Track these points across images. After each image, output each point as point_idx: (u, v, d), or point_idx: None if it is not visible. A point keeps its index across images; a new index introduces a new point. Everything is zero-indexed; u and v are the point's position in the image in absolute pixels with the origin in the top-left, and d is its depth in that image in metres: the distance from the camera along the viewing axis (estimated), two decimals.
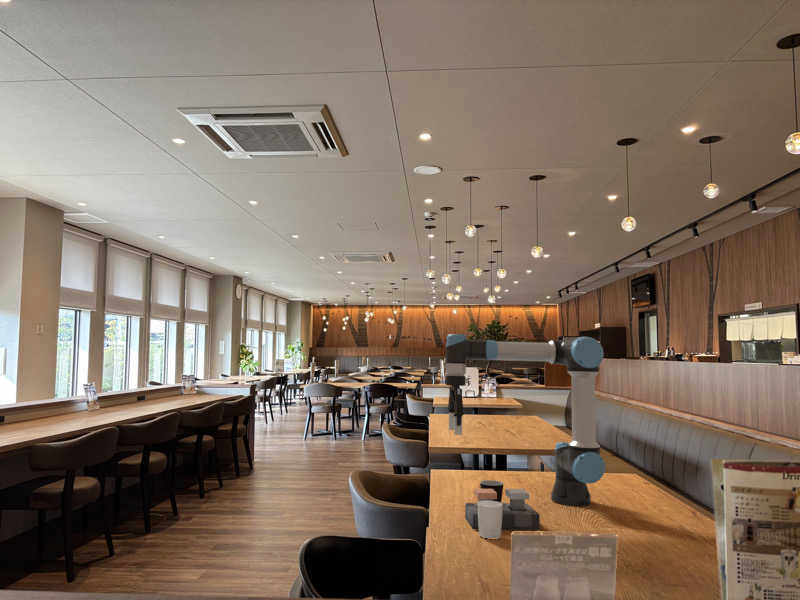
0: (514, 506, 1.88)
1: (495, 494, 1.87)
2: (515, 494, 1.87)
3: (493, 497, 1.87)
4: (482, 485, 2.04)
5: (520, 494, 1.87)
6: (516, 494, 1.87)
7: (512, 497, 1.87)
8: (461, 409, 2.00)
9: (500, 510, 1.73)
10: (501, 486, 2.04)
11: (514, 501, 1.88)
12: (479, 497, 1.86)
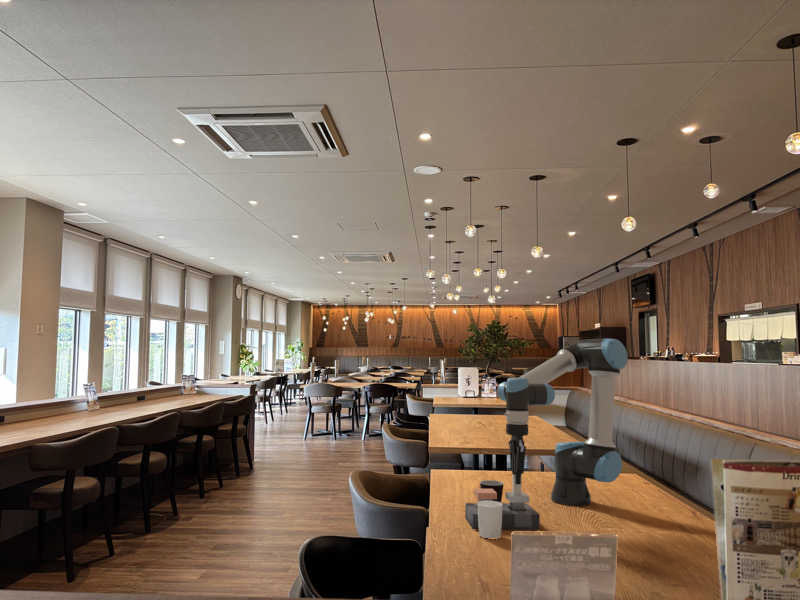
0: (514, 509, 1.88)
1: (495, 494, 1.87)
2: (515, 497, 1.87)
3: (493, 497, 1.87)
4: (482, 485, 2.04)
5: (520, 497, 1.87)
6: (516, 497, 1.87)
7: (512, 500, 1.87)
8: (522, 468, 1.87)
9: (500, 510, 1.73)
10: (501, 486, 2.04)
11: (514, 504, 1.88)
12: (479, 497, 1.86)
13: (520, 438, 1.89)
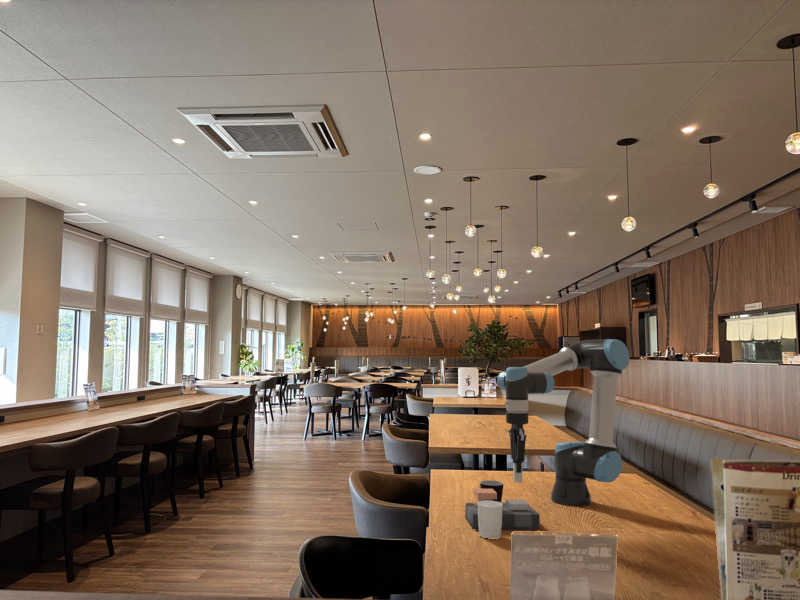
0: None
1: (495, 494, 1.87)
2: (515, 505, 1.87)
3: (493, 497, 1.87)
4: (482, 485, 2.04)
5: (520, 505, 1.87)
6: (516, 505, 1.87)
7: (512, 508, 1.87)
8: (522, 457, 1.88)
9: (500, 510, 1.73)
10: (501, 486, 2.04)
11: None
12: (479, 497, 1.86)
13: (520, 427, 1.89)
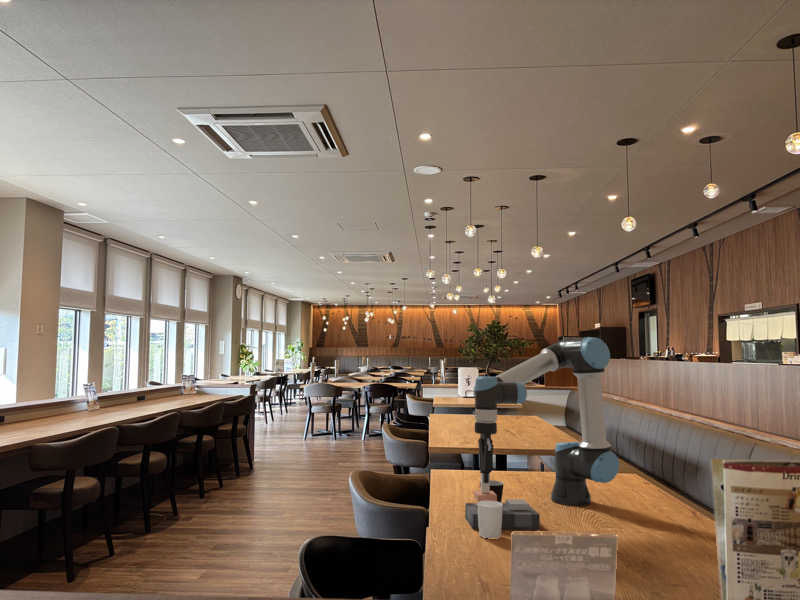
0: None
1: (495, 496, 1.87)
2: (515, 505, 1.87)
3: (493, 499, 1.87)
4: None
5: (520, 505, 1.87)
6: (516, 505, 1.87)
7: (512, 508, 1.87)
8: (489, 467, 1.87)
9: (500, 510, 1.73)
10: (501, 486, 2.04)
11: None
12: (479, 499, 1.86)
13: (488, 437, 1.88)
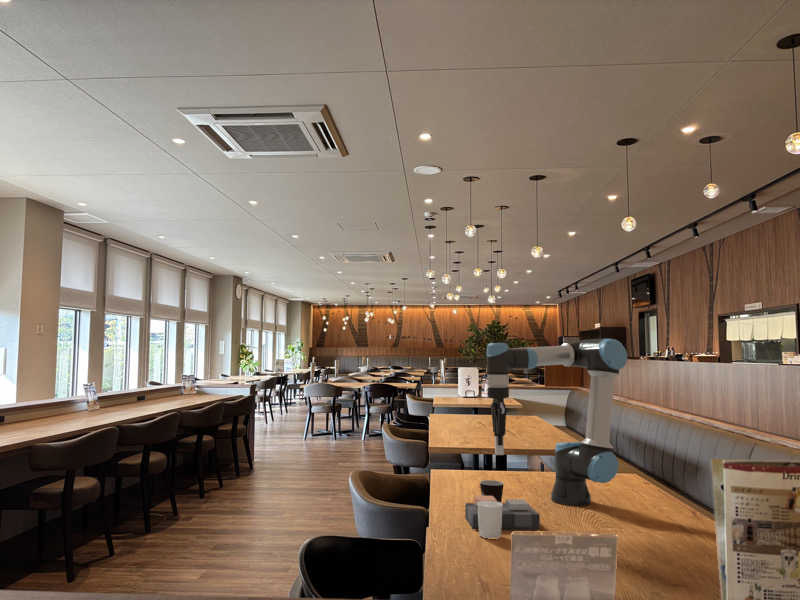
0: None
1: None
2: (515, 505, 1.87)
3: None
4: (482, 485, 2.04)
5: (520, 505, 1.87)
6: (516, 505, 1.87)
7: (512, 508, 1.87)
8: (503, 430, 1.93)
9: (500, 510, 1.73)
10: (501, 486, 2.04)
11: None
12: None
13: (501, 400, 1.94)
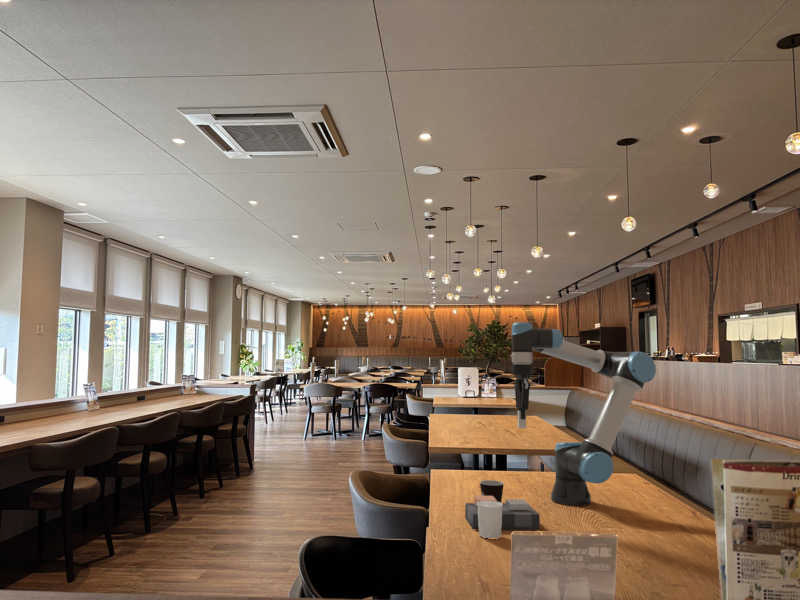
0: None
1: None
2: (515, 505, 1.87)
3: None
4: (482, 485, 2.04)
5: (520, 505, 1.87)
6: (516, 505, 1.87)
7: (512, 508, 1.87)
8: (526, 404, 2.03)
9: (500, 510, 1.73)
10: (501, 486, 2.04)
11: None
12: None
13: (525, 376, 2.04)
